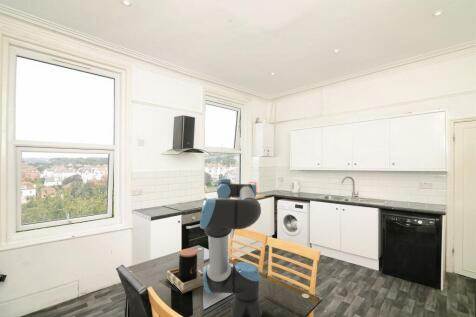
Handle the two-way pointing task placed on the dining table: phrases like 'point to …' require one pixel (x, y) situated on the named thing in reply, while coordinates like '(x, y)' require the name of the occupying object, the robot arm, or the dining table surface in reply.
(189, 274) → the coffee jar
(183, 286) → the walled box
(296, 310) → the dining table surface
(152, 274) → the dining table surface
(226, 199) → the robot arm
